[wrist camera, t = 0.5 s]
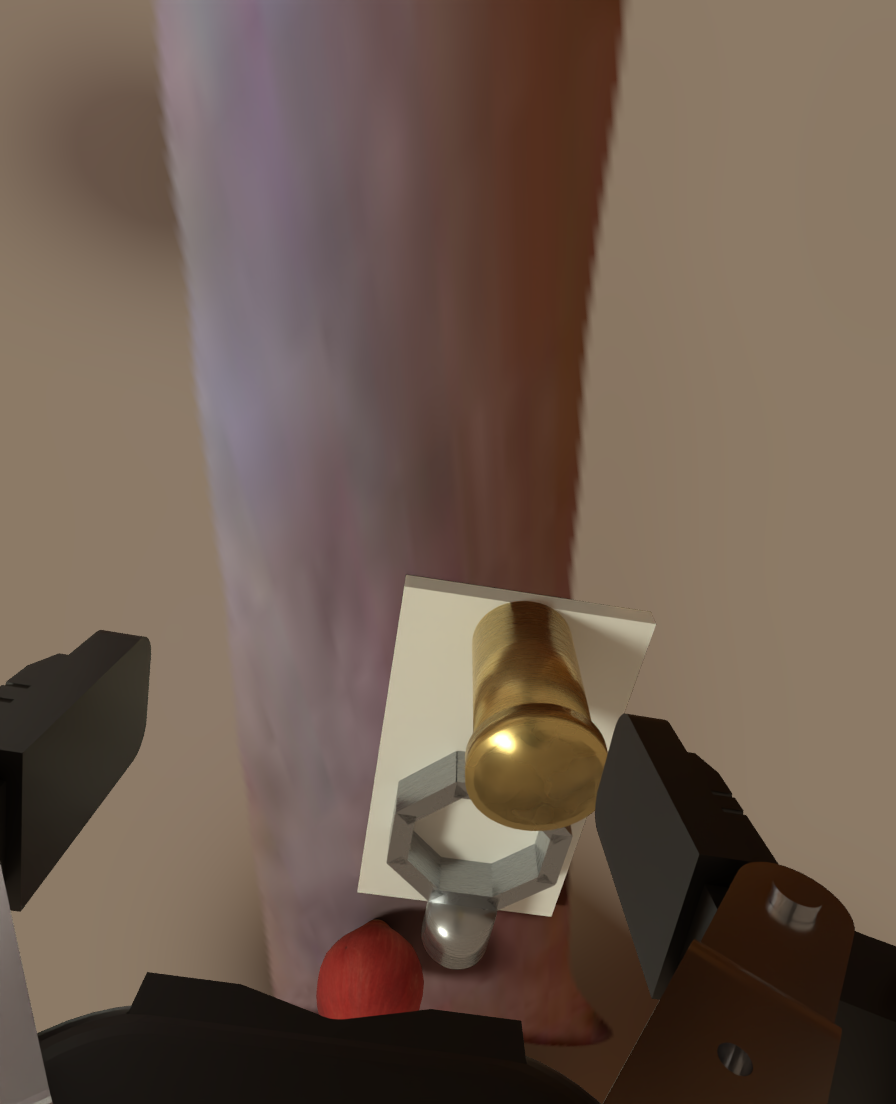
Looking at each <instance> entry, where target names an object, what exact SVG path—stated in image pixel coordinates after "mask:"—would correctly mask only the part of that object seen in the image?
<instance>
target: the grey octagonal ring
mask: <svg viewBox="0 0 896 1104" xmlns="http://www.w3.org/2000/svg"><path fill="white" fill-rule="evenodd" d="M461 798H463V799H470V798H469V795H468V793H467V790H466V785H465V752H464V751H455V752H453V753H451V754H449V755H447V756H446V757H444V758H442V759H440V760H438V761H436V762H434V763H432V764H430V765H428V766H427V767H425V768H423V769H421V770H419V771H417V772H415V773H413V774H411V775H409V776H408V777H406V778H404V779H402V780H400V781H399V783H398V789H397V794H396V800H395V806H394V811H393V817H392V823H391V828H390V836H389V845H388V853H387V862H386V863H387V864H388V865H389V866H390V867H391V868H392V869H393V870H394V871H396V872H397V873H398V874H399V875H400V876H401V877H402V878H403V879H404V880H405V881H407V882H408V883H409V884H410V885H411V886H412V887H413V888H414V889H415V890H416V891H418V892H419V893H420V894H421V895H422V896H423V897H424V898H425V899H426V900H427V901H428V902H427V907H426V911H425V916H424V920H423V924H422V929H421V938H422V943H423V946H424V948H425V950H426V952H427V953H428V955H429V956H430V957H431V958H432V959H433V960H434V961H435V962H437V963H438V964H440V965H442V966H444V967H446V968H450V969H466V968H469V967H471V966H473V965H475V964H476V963H478V962H479V961H480V960H481V958H482V957H483V955H484V953H485V951H486V948H487V944H488V941H489V938H490V934H491V931H492V928H493V925H494V921H495V918H496V914H497V910H499V909H502V908H504V907H506V906H508V905H511V904H513V903H515V902H518V901H520V900H522V899H525V898H527V897H529V896H531V895H534V894H536V893H538V892H541V891H543V890H545V889H547V888H550V887H552V886H554V885H555V884H556V883H557V880H558V877H559V874H560V871H561V868H562V866H563V863H564V860H565V857H566V854H567V851H568V849H569V846H570V843H571V840H572V837H573V836H572V830H571V825H569V826H566V827H562V828H559V829H554V830H547V831H538V835H537V838H536V841H535V844H533V845H531V846H528V847H526V848H524V849H522V850H520V851H518V852H515V853H513V854H511V855H509V856H507V857H505V858H502V859H500V860H498V861H496V862H494V863H492V864H491V863H484V862H476V861H468V860H460V859H453V858H445V857H441V856H440V855H439V854H438V853H436V852H435V851H434V850H433V849H432V848H431V847H430V846H429V845H428V844H427V843H426V842H425V841H424V840H423V839H422V838H421V837H420V836H419V835H418V834H417V833H416V832H415V831H414V830H413V829H414V824H415V821H417V820H419V819H421V818H423V817H425V816H427V815H429V814H431V813H433V812H435V811H437V810H439V809H441V808H443V807H445V806H447V805H449V804H451V803H453V802H455V801H457V800H459V799H461ZM470 800H471V799H470Z"/></svg>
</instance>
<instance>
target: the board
mask: <svg viewBox="0 0 896 1104" xmlns="http://www.w3.org/2000/svg"><path fill="white" fill-rule="evenodd" d="M516 601H532V602H537V603H541V604H544V605H546V606H548V607H551V608H552V609H554V610H555V611H557V612H558V613H559V614H560V615H561V616H562V617H563V618H564V619H565V621H566V622H567V624H568V626H569V628H570V631H571V634H572V639H573V643H574V647H575V652H576V656H577V660H578V665H579V669H580V673H581V677H582V682H583V686H584V690H585V695H586V699H587V703H588V708H589V712H590V716H591V720H592V722H593V723H594V724H595V725H596V726H597V728H598V729H599V730H600V732H601V733H602V735H603V738H604V740H605V743H606V747H607V751H609V747H610V743H611V740H612V736H613V732H614V729H615V726H616V723H617V721H618V719H619V717H620V716H621V715H622V714H624V713H625V710H626V707H627V705H628V702H629V699H630V696H631V693H632V691H633V688H634V685H635V682H636V679H637V677H638V674H639V671H640V668H641V665H642V663H643V660H644V657H645V654H646V652H647V649H648V646H649V643H650V641H651V637H652V635H653V632H654V629H655V627H656V622H655V620H654V618H653V615H652V613H651V612H649V611H643V610H636V609H630V608H623V607H616V606H610V605H602V604H596V603H590V602H583V601H577V600H570V599H563V598H557V597H550V596H544V595H537V594H530V593H524V592H517V591H511V590H504V589H497V588H491V587H484V586H478V585H471V584H464V583H458V582H451V581H444V580H438V579H431V578H425V577H418V576H411V575H406V579H405V585H404V592H403V598H402V605H401V611H400V618H399V624H398V631H397V638H396V644H395V651H394V657H393V664H392V670H391V677H390V683H389V690H388V696H387V703H386V709H385V716H384V722H383V729H382V735H381V742H380V748H379V755H378V761H377V768H376V774H375V781H374V787H373V794H372V800H371V807H370V813H369V820H368V826H367V833H366V839H365V846H364V852H363V859H362V865H361V872H360V878H359V885H358V891H357V892H360V893H368V894H376V895H384V896H392V897H400V898H408V899H415V900H423V901H427V900H426V899H425V898H424V897H423V896H422V895H421V894H420V893H419V892H418V891H416V890H415V889H414V888H413V887H412V886H411V885H410V884H409V883H408V882H407V881H405V880H404V879H403V878H402V877H401V876H400V875H399V874H398V873H397V872H396V871H394V870H393V869H392V868H391V867H390V866H389V865H388V864H387V863H386V862H387V853H388V845H389V836H390V828H391V823H392V817H393V811H394V806H395V800H396V794H397V789H398V783H399V781H400V780H402V779H404V778H406V777H408V776H409V775H411V774H413V773H415V772H417V771H419V770H421V769H423V768H425V767H427V766H428V765H430V764H432V763H434V762H436V761H438V760H440V759H442V758H444V757H446V756H447V755H449V754H451V753H453V752H455V751H464V752H466V747H467V744H468V741H469V739H470V737H471V735H472V734H473V677H472V638H473V634H474V631H475V628H476V626H477V625H478V623H479V622H480V620H481V619H482V618H483V617H484V616H485V615H486V614H487V613H488V612H490V611H491V610H493V609H495V608H496V607H498V606H501V605H503V604H506V603H510V602H516ZM586 818H587V817H586ZM586 818H584V819H582V820H580V821H578V822H576V823H574V824H571V830H572V836H573V837H572V840H571V843H570V846H569V849H568V851H567V854H566V857H565V860H564V863H563V866H562V868H561V871H560V874H559V877H558V880H557V883H556V884H555V885H554V886H552V887H550V888H547V889H545V890H543V891H541V892H538V893H536V894H534V895H531V896H529V897H527V898H525V899H522V900H520V901H518V902H515V903H513V904H511V905H508V906H506V907H504V908H502V909H499V910H503V911H511V912H518V913H526V914H534V915H542V916H550V917H551V916H552V913H553V910H554V908H555V905H556V902H557V899H558V896H559V894H560V891H561V888H562V885H563V883H564V880H565V877H566V874H567V871H568V869H569V866H570V863H571V860H572V858H573V855H574V852H575V849H576V846H577V844H578V841H579V838H580V835H581V832H582V829H583V827H584V824H585V821H586ZM413 830H414V831H415V832H416V833H417V834H418V835H419V836H420V837H421V838H422V839H423V840H424V841H425V842H426V843H427V844H428V845H429V846H430V847H431V848H432V849H433V850H434V851H435V852H436V853H438V854H439V855H440V856H441V857H445V858H453V859H460V860H468V861H476V862H484V863H491V864H492V863H494V862H496V861H498V860H500V859H502V858H505V857H507V856H509V855H511V854H513V853H515V852H518V851H520V850H522V849H524V848H526V847H528V846H531V845H533V844H535V841H536V838H537V835H538V831H525V830H519V829H513V828H510V827H506V826H504V825H501V824H499V823H497V822H495V821H493V820H491V819H489V818H488V817H486V816H485V815H484V814H482V813H481V812H480V811H479V810H478V809H477V808H476V806H475V805H474V804H473V803H472V801H471V800H470V799H463V798H461V799H459V800H457V801H455V802H453V803H451V804H449V805H447V806H445V807H443V808H441V809H439V810H437V811H435V812H433V813H431V814H429V815H427V816H425V817H423V818H421V819H419V820H417V821H415V824H414V829H413Z"/></svg>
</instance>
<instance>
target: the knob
mask: <svg viewBox="0 0 896 1104" xmlns="http://www.w3.org/2000/svg"><path fill="white" fill-rule="evenodd" d="M472 677H473V734H472V735H471V737H470V739H469V741H468V744H467V747H466V752H465V785H466V790H467V793H468V795H469V798H470V799H471V801H472V803H473V804H474V805H475V806H476V808H477V809H478V810H479V811H480V812H481V813H482V814H484V815H485V816H486V817H488V818H489V819H491V820H493V821H495V822H497V823H499V824H501V825H504V826H506V827H510V828H513V829H519V830H525V831H547V830H554V829H559V828H562V827H566V826H569V825H571V824H574V823H576V822H578V821H580V820H582V819H584V818H586V817H587V816H589V815H590V814H591V813H592V812H593V811H595V804H596V796H597V791H598V787H599V784H600V780H601V776H602V773H603V769H604V765H605V762H606V758H607V754H608V751H607V747H606V743H605V740H604V738H603V735H602V733H601V732H600V730H599V729H598V728H597V726H596V725H595V724H594V723H593V722H592V720H591V716H590V712H589V708H588V703H587V699H586V695H585V690H584V686H583V682H582V677H581V673H580V669H579V665H578V660H577V656H576V652H575V647H574V643H573V639H572V634H571V631H570V628H569V626H568V624H567V622H566V621H565V619H564V618H563V617H562V616H561V615H560V614H559V613H558V612H557V611H555V610H554V609H552V608H551V607H548V606H546V605H544V604H541V603H537V602H532V601H516V602H510V603H506V604H503V605H501V606H498V607H496V608H495V609H493V610H491V611H490V612H488V613H487V614H486V615H485V616H484V617H483V618H482V619H481V620H480V622H479V623H478V625H477V626H476V628H475V631H474V634H473V638H472Z"/></svg>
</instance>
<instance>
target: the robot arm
mask: <svg viewBox="0 0 896 1104" xmlns="http://www.w3.org/2000/svg"><path fill="white" fill-rule="evenodd" d="M150 660H151V645H150V641H149V639H148V638H147V637H142V636H136V635H129V634H123V633H117V632H111V631H104V630H99V631H97V632H96V633H95V634H93V635H92V636H91V637H90V638H89V639H87V640H86V641H85V642H84V643H82V644H81V645H80V646H79V647H78V648H76V649H75V650H74V651H73V652H72V653H70V654H69V655H65V654H56V655H54V656H51V657H49V658H46V659H43V660H41V661H38V662H36V663H33V664H30V665H28V666H26V667H25V668H24V669H22V670H21V671H20V672H18V673H17V674H16V675H14V676H13V677H12V678H11V679H9V680H8V681H7V682H6V685H1V686H0V1104H600V1102H598V1101H597V1100H596V1099H595V1098H594V1097H592V1096H591V1095H590V1094H589V1093H587V1092H586V1091H585V1090H584V1089H582V1088H581V1087H580V1086H579V1085H577V1084H576V1083H575V1082H573V1081H572V1080H570V1079H569V1078H567V1077H566V1076H564V1075H563V1074H561V1073H560V1072H558V1071H556V1070H554V1069H552V1068H550V1067H548V1066H547V1065H544V1064H543V1063H541V1062H539V1061H537V1060H534V1059H532V1058H529V1057H527V1056H525V1049H524V1040H523V1032H522V1024H521V1021H519V1020H511V1019H503V1018H496V1017H488V1016H480V1015H472V1014H465V1013H457V1012H449V1011H442V1010H434V1009H429V1010H420V1011H411V1012H402V1013H394V1014H385V1015H376V1016H368V1017H359V1018H350V1019H330V1018H327V1017H323V1016H321V1015H318V1014H316V1013H313V1012H311V1011H308V1010H305V1009H303V1008H300V1007H298V1006H295V1005H293V1004H290V1003H288V1002H285V1001H282V1000H280V999H277V998H275V997H272V996H270V995H267V994H264V993H262V992H259V991H257V990H254V989H252V988H249V987H247V986H244V985H241V984H234V983H227V982H219V981H211V980H203V979H196V978H188V977H179V976H173V975H165V974H157V973H149V972H147V974H146V976H145V978H144V980H143V982H142V984H141V986H140V989H139V991H138V993H137V995H136V997H135V999H134V1001H133V1003H132V1006H124V1007H117V1008H112V1009H107V1010H103V1011H98V1012H93V1013H90V1014H87V1015H84V1016H80V1017H77V1018H74V1019H71V1020H68V1021H65V1022H63V1023H61V1024H58V1025H56V1026H53V1027H51V1028H49V1029H46V1030H44V1031H41V1032H39V1033H37V1031H36V1027H35V1022H34V1017H33V1013H32V1008H31V1003H30V999H29V994H28V989H27V985H26V980H25V976H24V971H23V967H22V962H21V957H20V952H19V948H18V943H17V939H16V934H15V929H14V925H13V920H12V916H11V911H10V910H12V911H21V910H22V909H23V908H24V906H25V905H26V904H27V902H28V901H29V900H30V898H31V897H32V896H33V894H34V893H35V892H36V890H37V889H38V888H39V886H40V885H41V884H42V882H43V881H44V880H45V878H46V877H47V875H48V874H49V873H50V872H51V870H52V869H53V867H54V866H55V865H56V863H57V862H58V861H59V859H60V858H61V857H62V855H63V854H64V853H65V851H66V850H67V849H68V847H69V846H70V845H71V843H72V842H73V841H74V839H75V838H76V837H77V835H78V834H79V833H80V831H81V830H82V829H83V827H84V826H85V824H86V823H87V822H88V820H89V819H90V818H91V816H92V815H93V814H94V813H95V811H96V810H97V808H98V807H99V806H100V805H101V803H102V802H103V800H104V799H105V798H106V797H107V795H108V794H109V792H110V791H111V790H112V788H113V787H114V786H115V784H116V783H117V782H118V780H119V779H120V778H121V776H122V775H123V774H124V772H125V771H126V770H127V768H128V767H129V766H130V764H131V763H132V762H133V760H134V758H135V757H136V755H137V753H138V751H139V748H140V746H141V743H142V740H143V736H144V732H145V727H146V718H147V704H148V689H149V675H150ZM595 820H596V828H597V831H598V835H599V837H600V841H601V844H602V847H603V850H604V853H605V856H606V859H607V862H608V865H609V868H610V871H611V874H612V878H613V881H614V883H615V887H616V890H617V893H618V896H619V899H620V902H621V905H622V908H623V911H624V914H625V917H626V921H627V923H628V927H629V930H630V933H631V936H632V939H633V942H634V945H635V948H636V951H637V954H638V957H639V961H640V964H641V967H642V970H643V973H644V976H645V979H646V982H647V985H648V988H649V991H650V994H651V997H652V999H660V1001H659V1002H658V1004H657V1006H656V1008H655V1010H654V1011H653V1013H652V1015H651V1017H650V1019H649V1020H648V1023H647V1024H646V1026H645V1028H644V1030H643V1032H642V1034H641V1035H640V1037H639V1039H638V1041H637V1043H636V1044H635V1046H634V1048H633V1050H632V1051H631V1053H630V1055H629V1057H628V1059H627V1061H626V1062H625V1064H624V1066H623V1068H622V1070H621V1071H620V1073H619V1075H618V1077H617V1079H616V1081H615V1083H614V1084H613V1086H612V1088H611V1090H610V1092H609V1093H608V1095H607V1097H606V1099H605V1101H604V1103H603V1104H896V946H893V945H890V944H888V943H885V942H882V941H880V940H877V939H874V938H872V937H868V936H866V935H863V934H861V933H859V932H856V931H855V927H854V923H853V920H852V918H851V916H850V914H849V912H848V911H847V909H846V908H845V906H844V905H843V904H842V903H841V902H840V901H839V899H838V898H836V897H835V896H834V895H833V894H832V893H831V892H830V891H829V890H827V889H826V888H825V887H824V886H822V885H821V884H819V883H818V882H816V881H815V880H813V879H812V878H810V877H808V876H806V875H804V874H802V873H800V872H798V871H796V870H793V869H791V868H788V867H786V866H782V865H779V864H778V863H777V862H776V860H775V858H774V857H773V855H772V854H771V852H770V851H769V849H768V848H767V846H766V844H765V843H764V841H763V840H762V838H761V837H760V835H759V834H758V832H757V831H756V829H755V828H754V826H753V825H752V823H751V822H750V820H749V819H748V817H747V816H746V815H743V809H742V808H741V807H740V805H739V804H738V802H737V800H736V799H735V798H732V793H731V791H730V790H729V788H728V787H727V785H726V784H725V782H724V780H723V779H722V777H721V776H720V774H719V773H718V772H717V771H716V770H714V769H713V768H712V767H711V766H710V765H708V764H707V763H706V762H704V760H702V759H701V758H700V757H699V756H698V755H696V754H695V753H689V752H687V751H686V749H685V748H684V746H683V745H682V743H681V741H680V740H679V739H678V736H677V735H676V733H675V731H674V730H673V728H672V727H671V725H670V723H669V722H668V721H666V720H662V719H656V718H649V717H643V716H636V715H630V714H622V715H621V716H620V717H619V719H618V721H617V723H616V726H615V729H614V732H613V736H612V740H611V743H610V747H609V751H608V754H607V758H606V762H605V765H604V769H603V773H602V776H601V780H600V784H599V787H598V791H597V796H596V804H595Z"/></svg>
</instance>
